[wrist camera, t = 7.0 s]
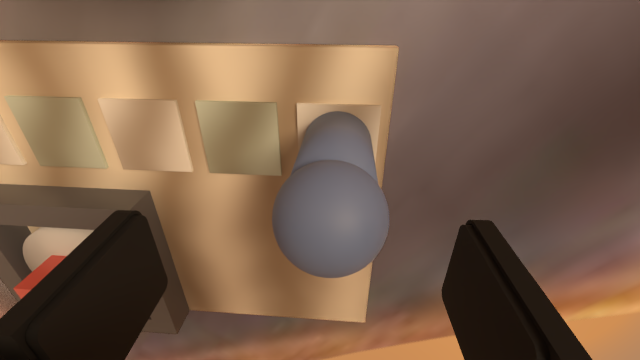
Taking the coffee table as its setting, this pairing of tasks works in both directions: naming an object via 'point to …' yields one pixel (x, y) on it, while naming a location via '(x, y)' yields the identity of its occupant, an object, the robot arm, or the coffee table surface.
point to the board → (197, 148)
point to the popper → (47, 253)
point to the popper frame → (82, 213)
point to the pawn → (332, 200)
